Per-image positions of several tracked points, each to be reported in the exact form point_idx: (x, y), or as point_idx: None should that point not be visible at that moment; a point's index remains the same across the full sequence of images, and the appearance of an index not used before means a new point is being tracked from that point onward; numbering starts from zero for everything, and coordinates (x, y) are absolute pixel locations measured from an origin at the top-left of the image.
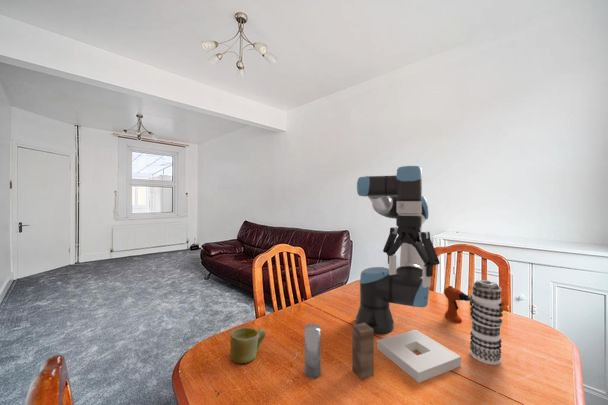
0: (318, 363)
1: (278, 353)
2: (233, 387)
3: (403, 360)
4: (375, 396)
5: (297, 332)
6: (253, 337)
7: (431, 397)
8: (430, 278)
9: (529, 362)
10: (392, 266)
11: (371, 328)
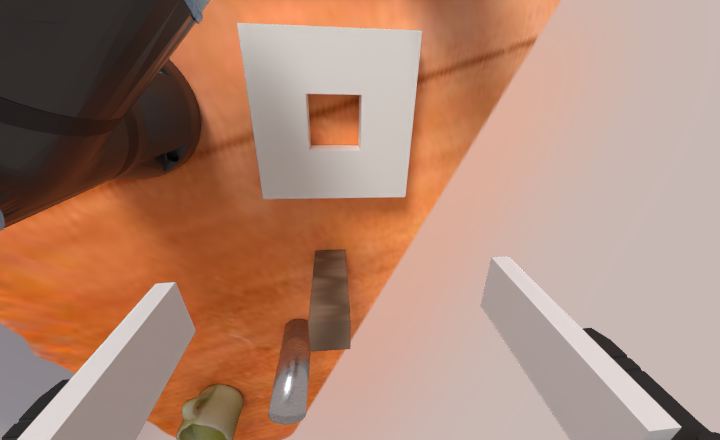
0: (309, 344)
1: (226, 358)
2: None
3: (359, 196)
4: (386, 272)
5: None
6: (223, 432)
7: (435, 195)
8: (546, 299)
9: None
10: (147, 381)
11: (344, 322)
